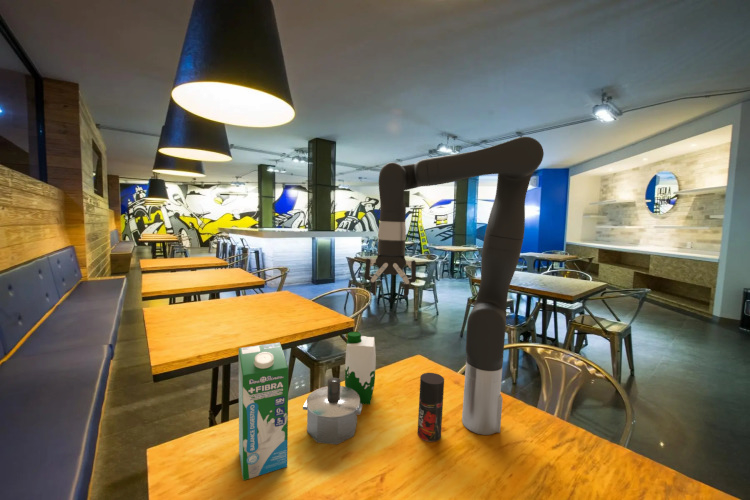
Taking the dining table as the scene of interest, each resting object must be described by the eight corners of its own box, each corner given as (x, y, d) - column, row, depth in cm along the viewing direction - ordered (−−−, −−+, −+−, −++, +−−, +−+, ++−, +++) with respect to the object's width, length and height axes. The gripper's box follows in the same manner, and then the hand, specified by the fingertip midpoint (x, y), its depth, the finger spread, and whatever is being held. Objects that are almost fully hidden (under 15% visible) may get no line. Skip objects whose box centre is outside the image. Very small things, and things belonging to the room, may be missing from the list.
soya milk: (346, 389, 103) (347, 328, 101) (374, 390, 103) (376, 329, 101) (342, 405, 94) (344, 339, 92) (373, 406, 94) (376, 340, 92)
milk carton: (243, 481, 66) (242, 364, 64) (239, 452, 74) (238, 347, 72) (287, 467, 71) (288, 356, 68) (279, 441, 79) (280, 341, 76)
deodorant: (445, 434, 83) (448, 378, 82) (432, 445, 79) (435, 386, 77) (426, 423, 87) (428, 370, 86) (412, 433, 83) (415, 377, 81)
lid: (362, 390, 90) (363, 370, 89) (355, 420, 76) (356, 397, 76) (314, 386, 91) (315, 366, 90) (299, 415, 77) (299, 392, 77)
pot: (363, 416, 90) (364, 392, 89) (357, 446, 78) (358, 418, 77) (311, 411, 91) (311, 387, 90) (297, 440, 79) (297, 413, 78)
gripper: (417, 238, 92) (414, 294, 94) (367, 236, 93) (365, 291, 95) (418, 240, 85) (415, 300, 86) (364, 237, 86) (362, 297, 88)
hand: (389, 295), depth 91 cm, fingers open, 8 cm apart
